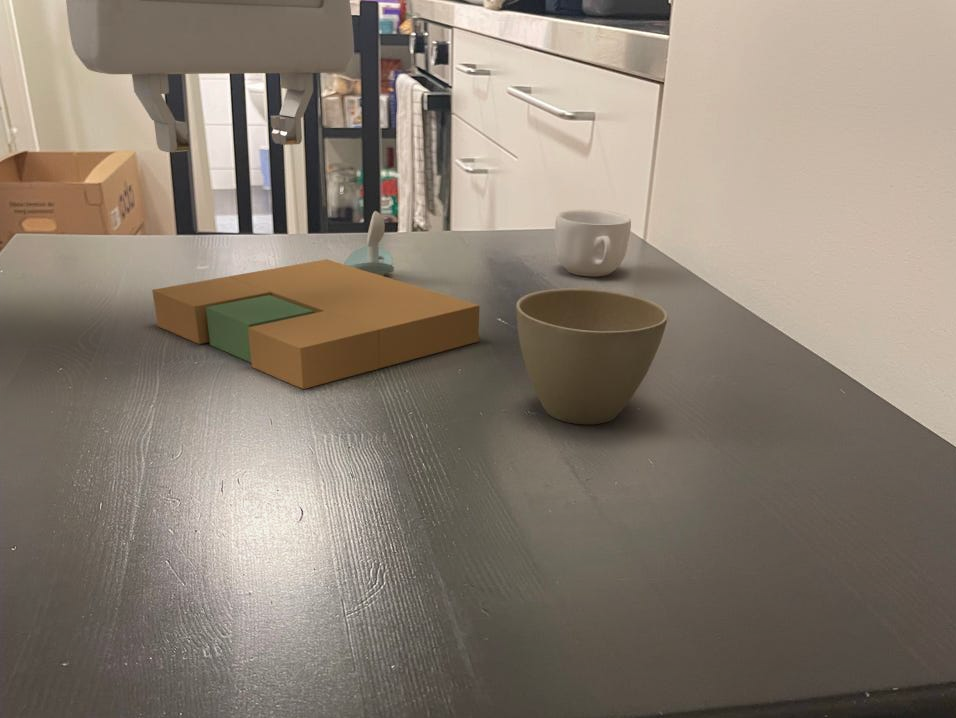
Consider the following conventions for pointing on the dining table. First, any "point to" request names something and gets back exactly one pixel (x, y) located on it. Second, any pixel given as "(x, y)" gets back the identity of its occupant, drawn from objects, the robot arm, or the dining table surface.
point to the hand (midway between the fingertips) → (232, 147)
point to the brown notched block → (326, 320)
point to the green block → (246, 321)
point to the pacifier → (372, 250)
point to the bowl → (587, 349)
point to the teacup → (591, 241)
